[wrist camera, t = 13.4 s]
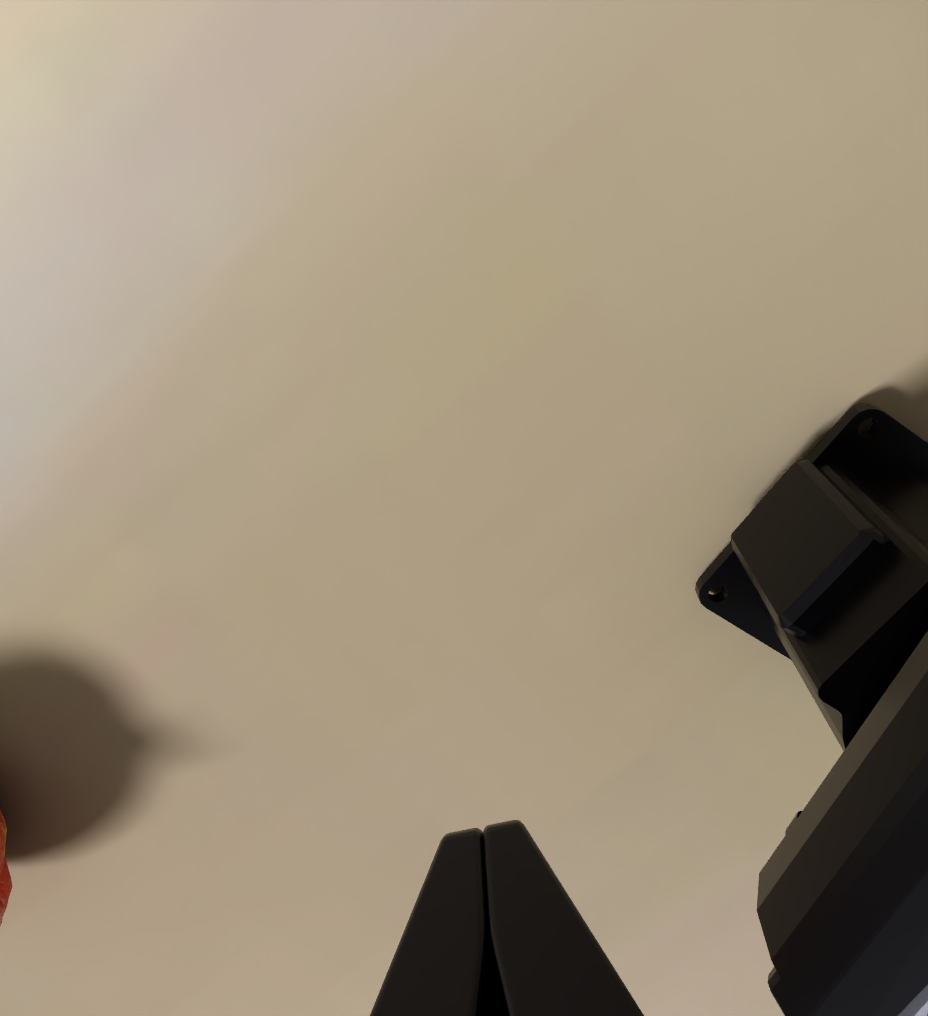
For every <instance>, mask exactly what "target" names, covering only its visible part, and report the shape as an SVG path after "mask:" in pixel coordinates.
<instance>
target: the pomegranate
mask: <svg viewBox="0 0 928 1016" xmlns="http://www.w3.org/2000/svg"><path fill="white" fill-rule="evenodd" d="M6 833H7V827H6V823H5V820H4V817H3V815H2V813H1V810H0V925H1V923H2V917H3V915H4V912H5V910H6V907H7V903H8V899H9V895H10V892H11V889H12V882H11V877H10V873H9V869H8V866H7V861H6V858H5V857H4V855H5V844H6Z"/></svg>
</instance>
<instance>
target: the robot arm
mask: <svg viewBox="0 0 928 1016" xmlns="http://www.w3.org/2000/svg"><path fill="white" fill-rule="evenodd" d="M870 418H872V425H871V427H870V429H868V430H867V431H866V432H863V433H858V427H859V425H860V423H861V422H863V421H864V420H865V419H870ZM714 586H723V587H724V588H723V589H722V591H721V592H720V593H718V594H714V595H712V594H708V593H709V591H710V589H711V588H713V587H714ZM695 590H696V593H697V596H698V598H699V600H700V602H701V604H702V605H703V606H704V607H705V608H707V609H709V610H710V611H712V612H714V613H715V614H717V615H718V616H720V617H722V618H723V619H725V620H727V621H728V622H730V623H732V624H733V625H735V626H737V627H738V628H740V629H741V630H743V631H745V632H746V633H748V634H750V635H751V636H753V637H755V638H756V639H758V640H759V641H761V642H763V643H764V644H766V645H768V646H769V647H771V648H773V649H774V650H776V651H778V652H779V653H781V654H782V655H784V656H786V657H787V658H789V659H791V660H792V661H793V663H794V665H795V667H796V668H797V670H798V672H799V674H800V675H801V677H802V679H803V681H804V683H805V684H806V686H807V688H808V690H809V691H810V693H811V695H812V697H813V698H814V700H815V702H816V704H817V705H818V707H819V709H820V711H821V712H822V714H823V716H824V718H825V719H826V721H827V723H828V725H829V726H830V728H831V730H832V732H833V733H834V735H835V737H836V739H837V740H838V742H839V744H840V746H841V747H842V749H843V751H844V752H843V753H842V755H841V756H840V758H839V759H838V761H837V762H836V764H835V765H834V766H833V768H832V769H831V771H830V772H829V774H828V775H827V777H826V778H825V779H824V781H823V782H822V784H821V785H820V787H819V788H818V789H817V791H816V792H815V794H814V795H813V797H812V798H811V800H810V801H809V802H808V804H807V805H806V807H805V808H804V810H803V811H799V812H798V813H797V814H796V816H795V817H794V819H793V820H792V822H791V823H790V824H789V826H788V827H787V829H786V836H785V837H784V838H783V840H782V841H781V843H780V844H779V846H778V847H777V849H776V850H775V851H774V853H773V854H772V856H771V857H770V859H769V860H768V862H767V863H766V864H765V866H764V867H763V869H762V870H761V872H760V873H759V886H758V901H757V913H758V916H759V919H760V923H761V926H762V930H763V933H764V937H765V940H766V943H767V947H768V950H769V954H770V957H771V960H772V962H773V965H774V968H773V970H772V971H771V972H770V973H769V976H768V984H769V987H770V990H771V992H772V994H773V996H774V998H775V1000H776V1002H777V1003H778V1005H779V1007H780V1008H781V1010H782V1012H783V1013H784V1015H785V1016H928V443H927V442H925V441H924V440H922V439H921V438H920V437H918V436H917V435H915V434H914V433H913V432H911V431H910V430H908V429H907V428H906V427H904V426H903V425H901V424H900V423H899V422H897V421H896V420H894V419H893V418H892V417H890V416H889V415H887V414H886V413H885V412H883V411H882V410H880V409H879V408H878V407H876V406H874V405H871V404H860V405H857V406H854V407H852V408H851V409H850V410H849V411H847V412H846V413H845V415H844V416H843V417H842V418H841V419H840V420H839V421H838V422H837V423H836V425H835V426H834V427H833V428H832V429H831V430H830V431H829V432H828V434H827V435H826V436H825V437H824V438H823V439H822V440H821V441H820V443H819V444H818V445H817V446H816V447H815V448H814V449H813V450H812V452H811V453H810V454H809V455H808V456H807V457H806V458H805V459H804V460H803V461H800V462H796V463H794V464H793V465H792V466H791V467H790V469H789V470H788V471H787V472H786V473H785V474H784V475H783V477H782V478H781V479H780V480H779V481H778V482H777V483H776V484H775V486H774V487H773V488H772V489H771V490H770V491H769V492H768V493H767V495H766V496H765V497H764V498H763V499H762V500H761V501H760V502H759V504H758V505H757V506H756V507H755V508H754V509H753V510H752V511H751V513H750V514H749V515H748V516H747V517H746V518H745V519H744V521H743V522H742V523H741V524H740V525H739V526H738V527H737V528H736V530H735V531H734V532H733V533H732V535H731V543H730V544H729V545H728V546H727V547H726V548H725V549H724V550H723V552H722V553H721V554H720V555H719V556H718V557H717V558H716V559H715V561H714V562H713V563H712V564H711V565H710V566H709V567H708V568H707V570H706V571H705V572H704V573H703V574H702V575H701V576H700V577H699V579H698V581H697V582H696V588H695ZM370 1016H644V1015H643V1013H642V1012H641V1010H640V1009H639V1007H638V1005H637V1004H636V1002H635V1001H634V999H633V997H632V996H631V994H630V993H629V991H628V990H627V988H626V986H625V985H624V983H623V982H622V980H621V978H620V977H619V975H618V974H617V972H616V970H615V969H614V967H613V966H612V964H611V962H610V961H609V959H608V958H607V956H606V955H605V953H604V951H603V950H602V948H601V947H600V945H599V943H598V942H597V940H596V939H595V937H594V935H593V934H592V932H591V931H590V929H589V927H588V926H587V924H586V923H585V921H584V920H583V918H582V916H581V915H580V913H579V912H578V910H577V908H576V907H575V905H574V904H573V902H572V900H571V899H570V897H569V896H568V894H567V892H566V891H565V889H564V888H563V886H562V885H561V883H560V881H559V880H558V878H557V877H556V875H555V873H554V872H553V870H552V869H551V867H550V865H549V864H548V862H547V861H546V859H545V857H544V856H543V854H542V853H541V851H540V850H539V848H538V846H537V845H536V843H535V842H534V840H533V838H532V837H531V835H530V834H529V832H528V830H527V829H526V827H525V826H524V824H523V823H522V822H520V821H519V820H512V821H507V822H502V823H497V824H492V825H488V826H486V827H485V828H484V831H483V832H482V831H481V830H480V829H478V828H472V829H467V830H462V831H457V832H452V833H448V834H446V835H445V836H444V837H443V838H442V840H441V842H440V844H439V847H438V849H437V852H436V854H435V856H434V859H433V861H432V864H431V866H430V869H429V871H428V874H427V876H426V879H425V881H424V884H423V886H422V889H421V891H420V893H419V896H418V898H417V901H416V903H415V906H414V908H413V911H412V913H411V916H410V918H409V921H408V923H407V925H406V928H405V930H404V933H403V935H402V938H401V940H400V943H399V945H398V948H397V950H396V953H395V955H394V958H393V960H392V962H391V965H390V967H389V970H388V972H387V975H386V977H385V980H384V982H383V985H382V987H381V990H380V992H379V995H378V997H377V999H376V1002H375V1004H374V1007H373V1009H372V1012H371V1014H370Z"/></svg>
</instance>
